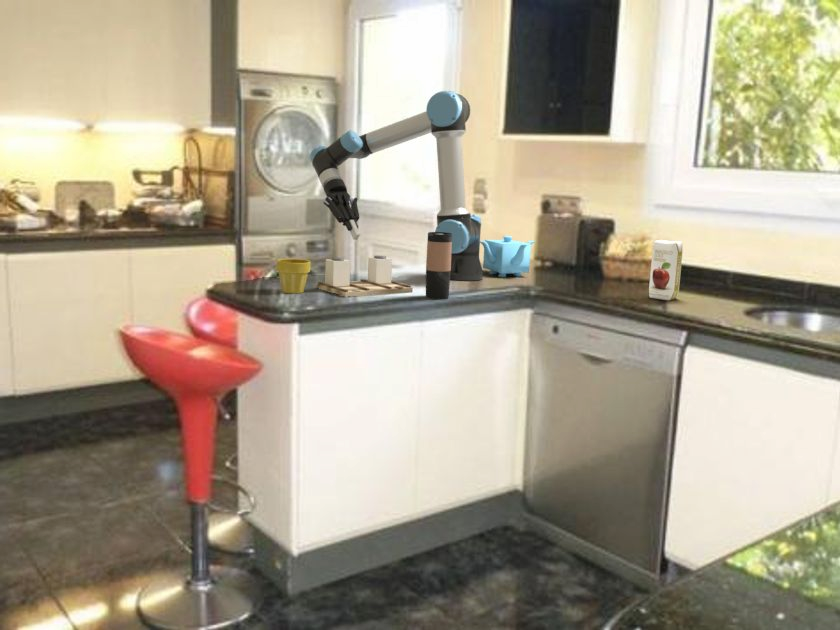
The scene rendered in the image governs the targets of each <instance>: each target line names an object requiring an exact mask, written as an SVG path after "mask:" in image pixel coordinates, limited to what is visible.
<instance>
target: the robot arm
mask: <svg viewBox="0 0 840 630" xmlns="http://www.w3.org/2000/svg"><path fill="white" fill-rule="evenodd" d="M470 116H471V106H470V103H469V101H468V99H467V98H466V97H465V96H463V95H461V94H460V93H456V92H455V91H451V90H442V91H438V92H436V93H435V94H433V95H432V96H431V97H430V99H429V100H428V102H427V105H426V110H425V111H423V112H421V113H418V114H416V115H412V116H410V117H407V118H404V119H402V120H399V121H396V122H393V123H392V124H388V125H386V126H383V127H380V128H378V129H375V130H372V131H370V132H368V133H364V134H361V135H359V134H358V133H357V132H355V131H354V130H351V129H350V130H347V131H346V132H344V133H343V134H341V136H340V137H338V138H337V139H336V140H335V141H334V142H332V143H331V144H330V145H329V146H325V145H320V146H318V147H315V148H313V149H312V151H311V152H310V156H309V157H310V158H309V159H310V161H311V163H312V167H313V169H314V170H315V173H316V175H317V177H318V179H319V182H320V184H321V186H322V188H323V191H324V193H325V196H326V197H325V199H324V201H323V204H324V205H325V206H326V207H327V208H328V209H329V211H330V212H331V214H332V215H333V216H334V218H335V220H337V222H338V223H340V224H341V223H342V226H343V227H346V230H347V231H349V233H350V236H351V237H352V240H353V241H355V240H358V239H359V238H360V236H361V233H360V230H359V225H358V221H359V219H360V213H359V207H358V198H357V197H354V198H353V197H351V195H350V194H349V193H348V189H347V186H346V184H345V182H344V180H343V177H342V175H341V173H340V171H339V168H338V167H339V166H341V165H342V164H343V163H344V162H346V161H347V160H349V159H357V160H360V159H366V158H367V157H369V156H370V155H373V154H374V153H378V152H380V151H384V150H386V149H389V148H392V147H394V146H398V145H400V144H404V143H406V142H408V141H411V140H414V139H417V138H419V137H423V136H425V135H428V134H431V135H432V136H433V137H434V138H435V139H436V155H437V156H436V157H437V170H438V171H437V172H438V184H439V185H438V187H439V188H438V189H439V203H440V210H439V211H437V213H436V225H437V226H436V228H435V231H434V232H446V233H452V250H451V273H450V280H452V281H453V280H454V281H469V282H470V281H479V280H483V279H484V278H483V277H484V272H483V266H482V264H481V259H480V248H481V247H480V246H481V245H480V244H481V243H480V241H481V231H482V230H481V229H482V218H481V216H480V215H477V214H472V213H471V211H469V210H468V209H467V208H466V188H465V175H464V174H465V173H464V158H463V157H464V155H463V139H462V138H463V135H464V134H466V131H467V130H466V129H467V128H466V123H467V121H468V120H469V118H470Z"/></svg>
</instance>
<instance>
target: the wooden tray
mask: <svg viewBox="0 0 840 630" xmlns="http://www.w3.org/2000/svg"><path fill="white" fill-rule="evenodd" d="M315 285H316V287H315V289H317V288H320V289H323V290H326V291H330V292H333V293H336V294H339V295H338V296H340V295H342V296H341V297H343V296H345V297H344V298H349V297H348V296H357V297H368V296H367V295H370V296H380V295H391V294H392V295H393V294H394V295H395V294H406V293H413V291H414V287H413V286H412V285H411V284H406V283H402V282H399V281H396V280H395V281H394V280H391V283H383V284H379V283H375V282H371V281H368V279H363V278H361V279H360V280H355V281H353V280H352V281H351V280H350V286H339V287H336V286H332V285H329V284H326V283H325V282H321V281H318V282H317V283H316V284H315ZM320 289H319V290H320ZM323 290H322V291H323ZM326 291H325V292H326ZM330 292H329V293H330ZM333 293H332V294H333ZM336 294H335V295H336Z"/></svg>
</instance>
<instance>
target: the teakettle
mask: <svg viewBox="0 0 840 630" xmlns="http://www.w3.org/2000/svg"><path fill="white" fill-rule="evenodd" d="M536 242H537V240H529V241H527V242H523V241H519V240H513V236H511V235H509V236H508V235H504V236H503V237H502V239H484V241H482V240H480V244H481V245H482V246H483V265H482V269H485V270H489V273H488V275H493V274H495V275H497V273H498V275H497V276H498V278H507V275H514V277H515V276H516V278H522V277H523V275H522V274H525V273H527V274H528V273H530V264H531V263H530V261H531V247H532V245H533V243H536Z"/></svg>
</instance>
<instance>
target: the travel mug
mask: <svg viewBox="0 0 840 630" xmlns="http://www.w3.org/2000/svg"><path fill="white" fill-rule="evenodd" d="M426 244H427V246H426V262H425V298H427V299H431V300H447V299H449V298H450V297H449V294H450V285H451V284H450V282H451V279H450V273H451V250H452V233H446V232H435V231H429V232H427V243H426Z"/></svg>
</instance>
